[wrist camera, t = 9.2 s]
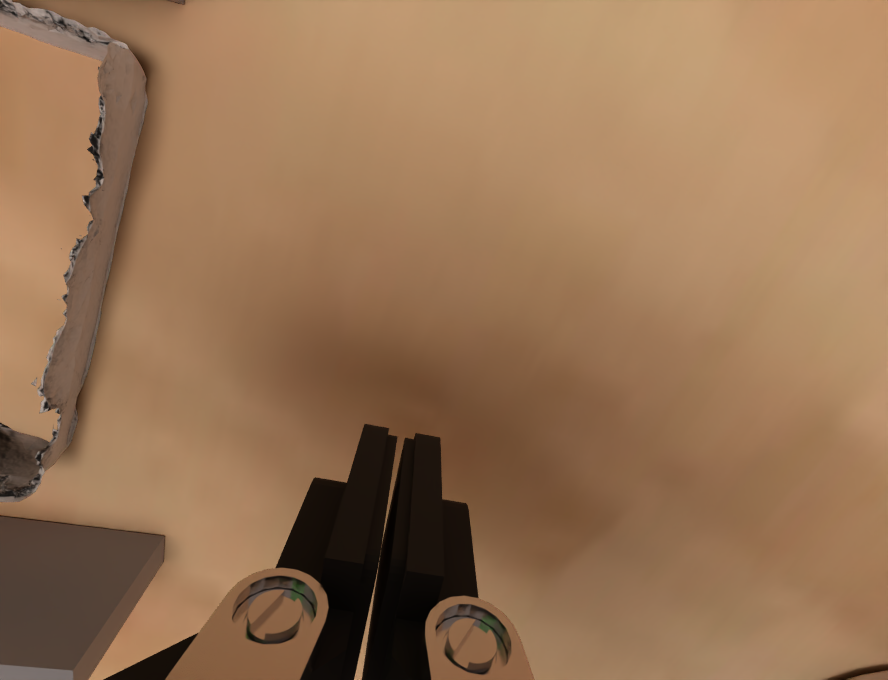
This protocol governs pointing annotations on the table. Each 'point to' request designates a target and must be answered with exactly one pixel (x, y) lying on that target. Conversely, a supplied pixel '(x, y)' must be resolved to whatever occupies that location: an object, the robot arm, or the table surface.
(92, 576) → the tray
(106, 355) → the table surface
